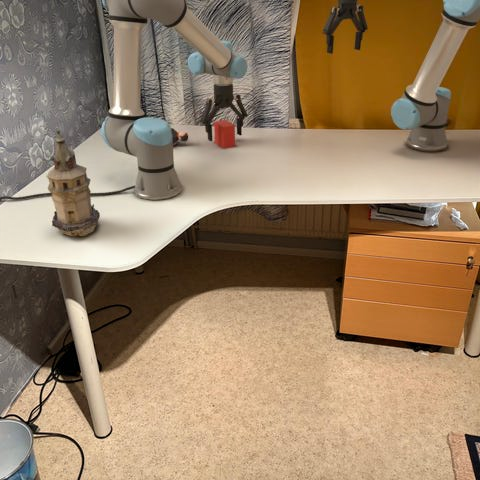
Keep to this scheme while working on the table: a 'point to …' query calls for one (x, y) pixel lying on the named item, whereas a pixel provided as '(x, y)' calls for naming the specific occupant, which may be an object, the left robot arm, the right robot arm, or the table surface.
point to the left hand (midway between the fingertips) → (224, 137)
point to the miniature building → (70, 193)
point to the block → (224, 133)
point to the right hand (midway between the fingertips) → (343, 51)
